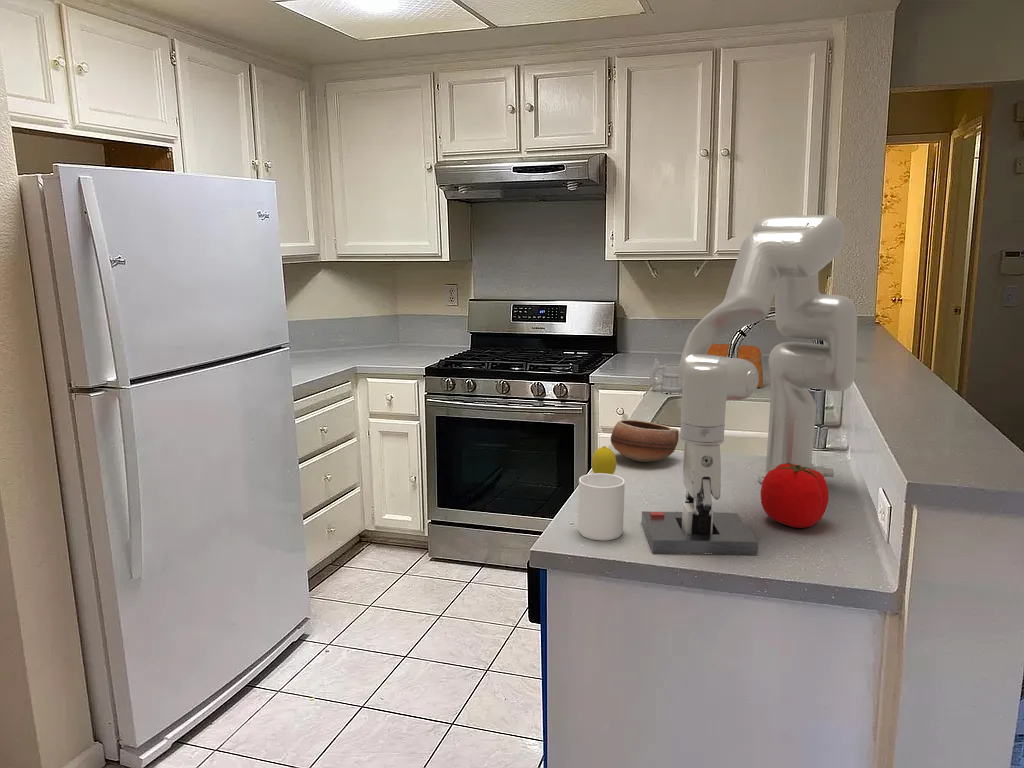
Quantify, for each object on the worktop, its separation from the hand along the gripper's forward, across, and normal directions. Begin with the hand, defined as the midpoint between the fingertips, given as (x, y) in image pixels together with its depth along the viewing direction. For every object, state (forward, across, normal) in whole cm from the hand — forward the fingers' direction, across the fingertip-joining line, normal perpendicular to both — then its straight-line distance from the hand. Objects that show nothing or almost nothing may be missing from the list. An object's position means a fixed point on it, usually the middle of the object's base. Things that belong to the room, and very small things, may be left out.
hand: (697, 527), depth 136 cm
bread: (+2, +152, -42) cm, 158 cm away
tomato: (+2, +9, -20) cm, 22 cm away
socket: (+2, 0, 0) cm, 2 cm away
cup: (+2, +4, +17) cm, 18 cm away
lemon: (+2, +33, +14) cm, 36 cm away
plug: (+2, 0, 0) cm, 2 cm away
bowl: (+2, +49, +3) cm, 49 cm away
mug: (+2, +135, -17) cm, 136 cm away
